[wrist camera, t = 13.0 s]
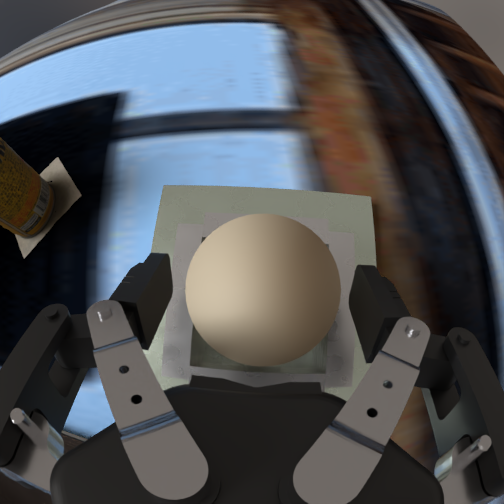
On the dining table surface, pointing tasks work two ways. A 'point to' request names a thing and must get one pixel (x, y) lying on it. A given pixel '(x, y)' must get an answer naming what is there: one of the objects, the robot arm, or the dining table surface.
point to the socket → (234, 206)
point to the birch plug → (263, 290)
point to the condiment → (32, 197)
